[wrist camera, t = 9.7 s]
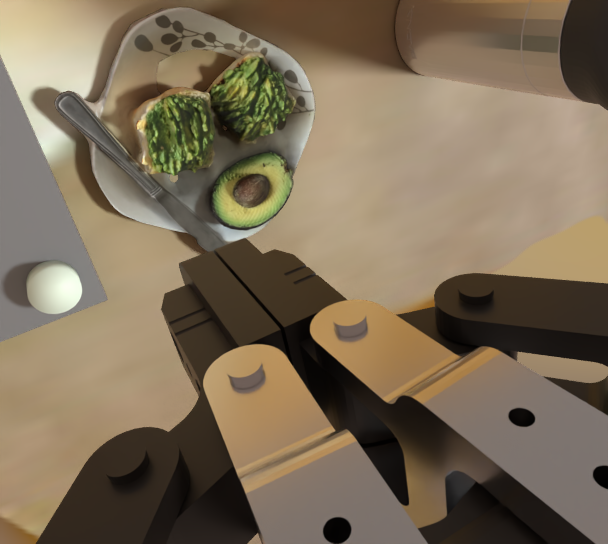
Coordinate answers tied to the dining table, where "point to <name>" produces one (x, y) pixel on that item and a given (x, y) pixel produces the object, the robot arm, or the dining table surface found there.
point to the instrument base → (36, 232)
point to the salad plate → (197, 130)
